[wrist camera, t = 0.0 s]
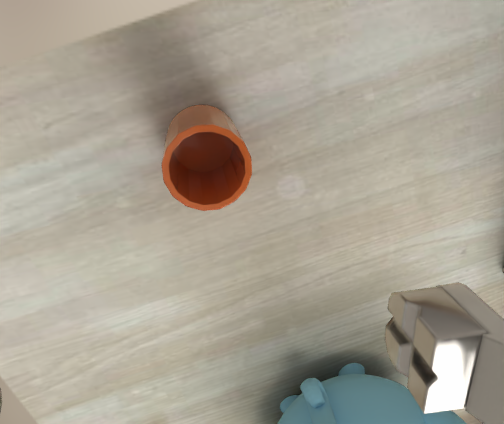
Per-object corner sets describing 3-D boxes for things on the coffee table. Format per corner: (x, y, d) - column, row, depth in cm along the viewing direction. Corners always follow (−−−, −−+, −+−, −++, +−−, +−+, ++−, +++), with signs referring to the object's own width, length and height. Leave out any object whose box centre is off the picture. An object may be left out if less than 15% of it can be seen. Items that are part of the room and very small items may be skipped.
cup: (162, 107, 29) (156, 128, 23) (235, 102, 30) (249, 121, 24) (171, 176, 31) (168, 214, 25) (239, 171, 32) (253, 206, 26)
